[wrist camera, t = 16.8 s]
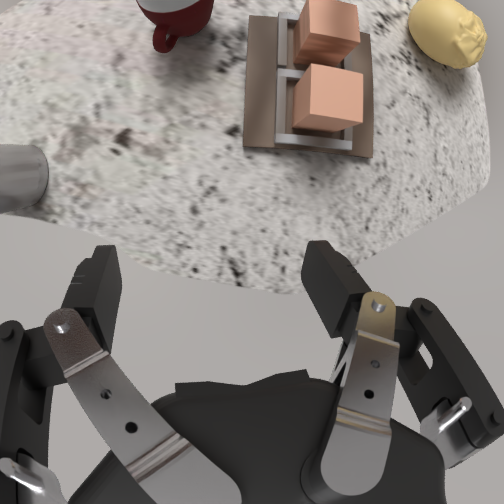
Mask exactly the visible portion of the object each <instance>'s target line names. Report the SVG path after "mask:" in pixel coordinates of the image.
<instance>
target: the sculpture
mask: <svg viewBox="0 0 504 504" xmlns="http://www.w3.org/2000/svg"><path fill="white" fill-rule="evenodd" d="M408 25H409V30H410V33H411V35H412V37H413V39H414V40H415V42H416V43H417V45H418V46H419V47H420V49H421V50H422V51H423V52H424V53H425V54H426V55H428V56H429V57H430V58H432V59H433V60H435V61H437V62H439V63H441V64H444V65H448V66H451V67H453V68H454V69H457V68H459V69H462V68H465V67H470V66H472V65H474V64H475V63H476V62H478V61H479V59H481V57H482V54H483V52H484V46H485V42H486V41H487V34H486V32H485V30H484V26H483V23H482V21H481V20H480V18H479V17H477V16H476V15H474V13H473V12H472V11H468V10H467V9H466V8H465V7H463V6H462V5H461V4H459V3H458V2H456V1H454V0H420V1H418V2H417V3H416V4H415V5H414V6H413V8H412V9H411V11H410V14H409V18H408Z"/></svg>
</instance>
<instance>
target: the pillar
mask: <svg viewBox="0 0 504 504" xmlns="http://www.w3.org/2000/svg"><path fill="white" fill-rule="evenodd" d="M360 123H363V74H361V73H357V72H353V71H348V70H344V69H339V68H334V67H329V66H324V65H318V64H312V63H311V65H310V66H309V67H308V69H307V70H306V72H305V73H304V74H303V76H302V77H301V79H300V80H299V81H298V83H297V84H296V86H295V87H294V88H293V107H292V126H291V128H297V129H306V130H314V131H321V132H328V133H334V132H337V131H340V130H343V129H346V128H348V127H351V126H354V125H357V124H360Z"/></svg>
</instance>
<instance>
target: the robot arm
mask: <svg viewBox="0 0 504 504" xmlns="http://www.w3.org/2000/svg"><path fill="white" fill-rule="evenodd" d="M47 180H48V165H47V161H46V158H45V156H44V154H43V152H42V151H41V150H40V149H39V148H38V147H36V146H34V145H13V144H0V214H3V213H6V212H9V211H13V210H17V209H20V208H24V207H28V206H31V205H34V204H35V203H36V202H38V201H39V199H40V198H41V197H42V195H43V193H44V191H45V188H46V185H47ZM301 280H302V283H303V285H304V287H305V289H306V291H307V293H308V295H309V297H310V299H311V301H312V302H313V304H314V306H315V308H316V310H317V312H318V314H319V316H320V318H321V320H322V322H323V323H324V326H325V328H326V329H327V331H328V333H329V335H330V337H331V338H337V337H342V338H343V342H342V344H341V346H340V350H339V353H338V356H337V359H336V362H335V365H334V368H333V371H332V374H331V377H330V380H329V382H328V381H325V380H321V379H315V378H309V375H308V373H307V370H306V369H304V370H298V371H292V372H286V373H279V374H275V375H273V376H270V377H267V378H265V379H262V380H259V381H257V382H254V383H251V384H248V385H233V384H224V383H216V382H210V381H206V382H189V383H175V390H176V392H175V393H172V394H168V395H166V396H164V397H161V398H159V399H158V400H156V401H154V402H153V403H151V404H149V403H148V402H147V400H146V399H145V398H144V397H143V396H142V395H141V393H140V392H139V391H138V390H137V389H136V387H135V386H134V385H133V384H132V383H131V381H130V380H129V379H128V378H127V376H126V375H125V374H124V373H123V371H122V370H121V369H120V368H119V366H118V365H117V364H116V362H115V361H114V360H113V358H112V357H111V356H110V354H111V349H112V342H113V336H114V329H115V323H116V318H117V312H118V307H119V302H120V296H121V291H122V278H121V273H120V268H119V262H118V257H117V251H116V247H115V245H103V246H102V245H101V246H100V245H99V246H96V248H95V250H94V253H93V255H92V258H86V259H84V260H83V261H82V262H81V263H80V265H78V266H77V269H76V271H75V273H74V277H73V278H72V280H71V284H70V285H69V288H68V290H67V293H66V295H65V298H64V301H63V303H62V306H61V308H60V309H58V310H56V311H54V312H52V313H51V314H50V315H49V316H48V317H47V318H46V320H45V322H44V326H41V327H37V328H33V329H29V330H24V328H23V327H22V325H21V324H20V323H19V322H18V321H14V320H10V321H7V322H4V323H2V324H1V325H0V504H447V503H446V497H445V482H444V480H445V470H446V469H450V468H453V467H455V466H456V465H458V464H459V463H462V462H463V461H465V460H467V459H468V458H470V457H471V456H473V455H474V454H476V453H477V452H479V451H480V450H482V449H484V448H485V447H486V446H488V445H489V444H491V443H492V442H494V441H495V440H496V439H498V438H499V437H500V436H502V435H503V434H504V409H503V407H502V405H501V403H500V401H499V399H498V398H497V396H496V394H495V392H494V391H493V389H492V387H491V386H490V384H489V382H488V381H487V379H486V377H485V376H484V374H483V372H482V371H481V369H480V368H479V366H478V365H477V363H476V361H475V360H474V359H473V357H472V355H471V354H470V352H469V351H468V349H467V348H466V346H465V345H464V343H463V342H462V341H461V339H460V338H459V336H458V335H457V334H456V332H455V331H454V329H453V328H452V326H450V324H449V322H448V321H447V320H446V318H445V317H444V316H443V314H442V313H441V312H440V310H439V309H438V308H437V306H436V305H435V304H433V303H432V302H431V301H429V300H427V299H424V298H416V299H414V300H413V301H412V303H411V305H410V307H401V306H395V304H394V302H393V301H392V300H391V299H390V298H389V297H388V296H386V295H385V294H382V293H380V292H374V291H372V290H371V289H370V288H369V286H368V285H367V284H366V282H365V281H364V280H363V278H362V277H361V276H360V274H359V273H357V270H356V269H355V268H354V267H352V264H351V263H350V261H349V260H348V259H347V258H346V257H345V256H343V255H342V254H341V253H339V252H338V251H335V250H334V249H333V247H332V246H331V245H330V243H329V242H328V241H326V240H320V241H309V243H308V245H307V249H306V253H305V257H304V261H303V265H302V270H301ZM423 343H424V344H425V346H426V348H427V349H428V351H429V352H430V354H431V356H432V359H433V365H432V367H431V369H429V367H428V366H427V364H426V362H425V361H424V359H423V357H422V356H421V354H420V352H419V351H418V350H419V348H420V347H421V345H422V344H423ZM397 376H398V379H399V381H400V383H401V385H402V387H403V388H404V391H405V393H406V394H407V397H408V399H409V401H410V403H411V405H412V407H413V409H414V411H415V413H416V415H417V417H418V419H419V422H420V424H421V425H420V434H418V433H417V432H415V431H413V430H412V429H410V428H408V427H406V426H404V425H403V424H401V423H399V422H397V421H396V420H394V419H392V418H391V411H392V405H393V399H394V392H395V384H396V377H397ZM67 382H68V384H69V386H70V388H71V389H72V391H73V393H74V395H75V396H76V398H77V400H78V401H79V403H80V405H81V406H82V408H83V409H84V411H85V413H86V414H87V416H88V417H89V419H90V420H91V422H92V423H93V425H94V426H95V428H96V429H97V431H98V432H99V433H100V435H101V436H102V438H103V439H104V440H105V442H106V443H107V444H108V446H109V447H110V448H111V450H110V451H109V452H108V453H107V455H106V456H105V457H104V458H103V459H102V461H101V462H100V463H99V464H98V465H97V467H96V468H95V469H94V470H93V471H92V473H91V474H90V475H89V476H88V477H87V478H86V480H85V481H84V482H83V483H82V484H81V486H80V487H79V488H78V489H77V490H76V491H75V493H74V494H73V495H72V496H71V498H70V499H69V501H68V502H67V501H66V500H65V498H64V497H63V495H62V492H61V488H60V484H59V481H58V479H57V477H56V475H55V474H54V473H53V472H52V471H51V470H49V469H48V440H49V423H50V412H51V403H52V395H53V387H54V385H59V384H63V383H67Z"/></svg>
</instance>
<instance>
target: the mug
mask: <svg viewBox="0 0 504 504" xmlns="http://www.w3.org/2000/svg"><path fill="white" fill-rule="evenodd" d="M136 1H137V3H138V5H139V7H140V9H141V10H142V12H143V13H144V15H145V16H146V17H147V18H148V19H149V20H150V21H152V22H153V23H154V24H155V25H157V26H156V28H155V31H154V34H153V46H154V49H155V50H156V51H158V52H160V53H167V52H169V51H171V50H172V49H173V47H174V46H175V44H176V42H177V40H178V38H179V37H185V36H191V35H194V34H196V33H197V32H199V31H200V30H201V29H203V28H204V27H205V25H206V24H207V23H208V21H209V19H210V17H211V13H212V8H213V3H214V0H136ZM167 34H169V37H168V39H167V40H166V35H167Z"/></svg>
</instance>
